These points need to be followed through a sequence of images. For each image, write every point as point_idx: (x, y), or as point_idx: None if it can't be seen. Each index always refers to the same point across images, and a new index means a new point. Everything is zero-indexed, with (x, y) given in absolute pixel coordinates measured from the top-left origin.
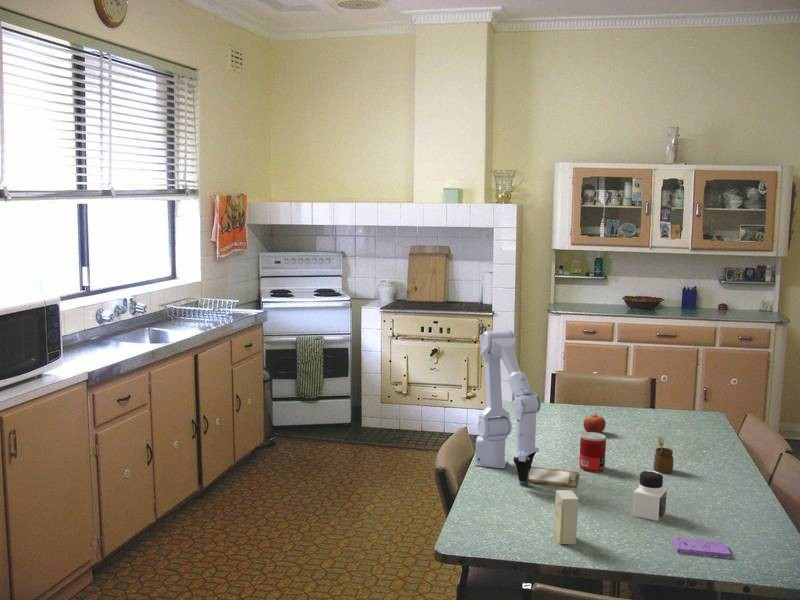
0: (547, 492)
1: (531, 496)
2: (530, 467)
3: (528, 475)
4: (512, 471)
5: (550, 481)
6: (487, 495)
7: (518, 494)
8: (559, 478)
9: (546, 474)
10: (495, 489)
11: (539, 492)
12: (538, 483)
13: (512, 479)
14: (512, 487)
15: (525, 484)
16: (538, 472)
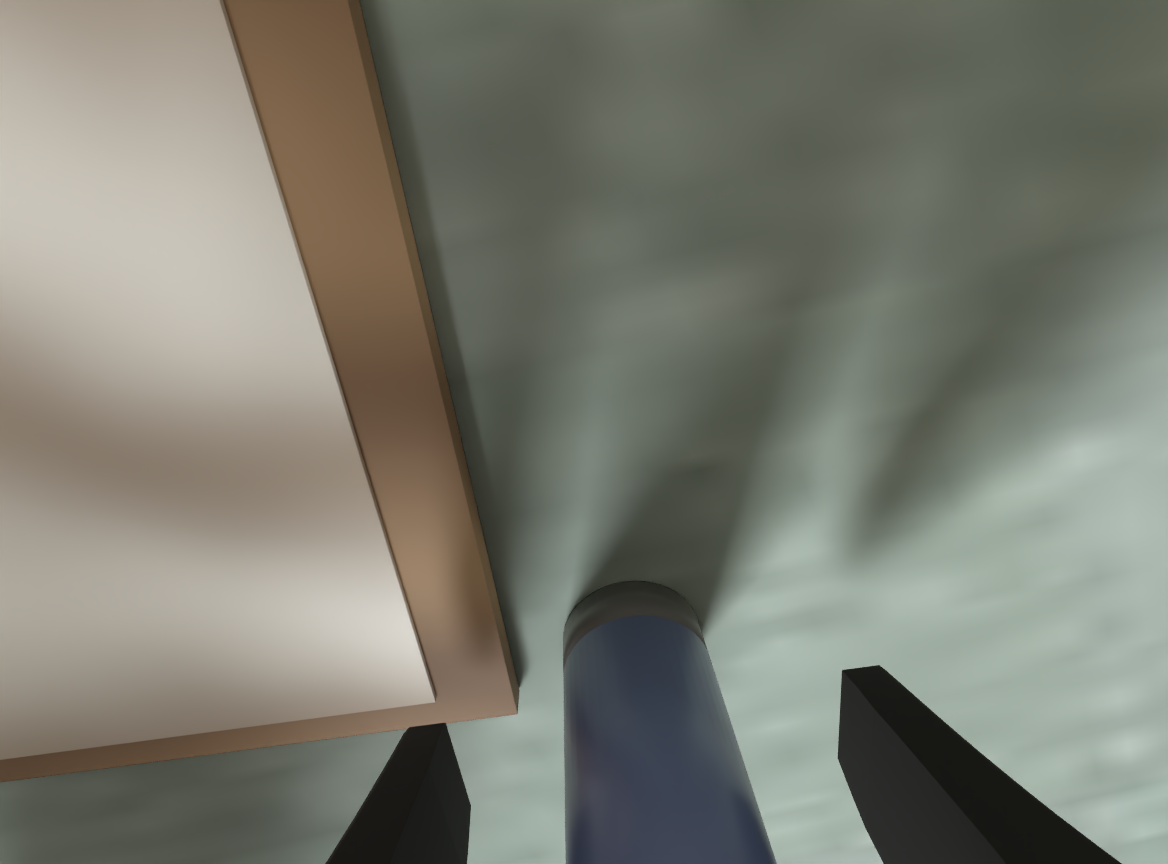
0: (838, 230)
1: (1089, 431)
2: (400, 838)
3: (686, 721)
4: (205, 859)
5: (326, 301)
6: (1123, 845)
7: (1034, 602)
8: (23, 151)
9: (9, 463)
10: None
11: (878, 362)
12: (467, 479)
13: (495, 791)
14: (788, 722)
15: (695, 627)
16: (26, 603)
